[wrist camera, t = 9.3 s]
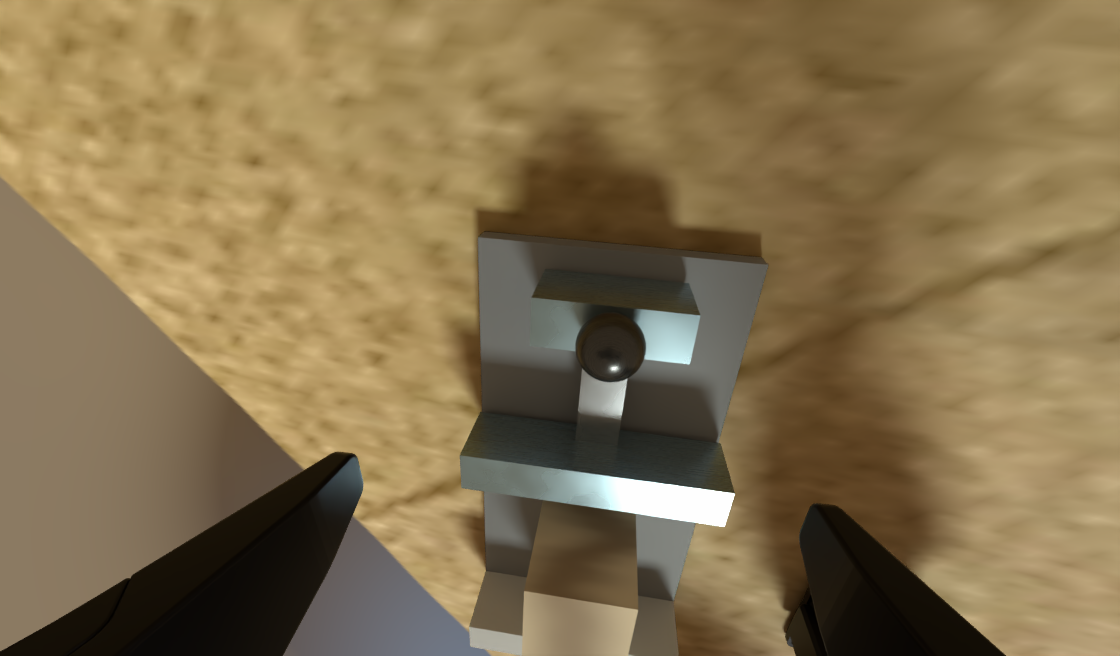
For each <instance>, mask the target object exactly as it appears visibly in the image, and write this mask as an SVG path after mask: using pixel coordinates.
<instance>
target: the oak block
mask: <svg viewBox="0 0 1120 656" xmlns="http://www.w3.org/2000/svg"><path fill="white" fill-rule="evenodd" d="M637 613H638V579H637V542H636V514H635V513H629V512H622V511H615V510H608V509H601V508H594V507H588V506H581V505H574V504H567V503H560V502H554V501H547V500H543V502H542V507H541V512H540V517H539V521H538V526H537V531H536V536H535V541H534V546H533V550H532V555H531V560H530V565H529V570H528V574H527V579H526V584H525V589H524V607H523V636H522V656H628V653H629V649H630V645H631V640H632V636H633V631H634V627H635V622H636V618H637Z"/></svg>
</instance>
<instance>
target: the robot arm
mask: <svg viewBox="0 0 1120 656" xmlns="http://www.w3.org/2000/svg"><path fill="white" fill-rule="evenodd" d="M362 490H363V479H362V474H361V470H360V466H359V462H358V458H357V456H356V455H355V454H353V453H346V452H334V453H332V454H330V455H328V456H327V457H325V458H323V459H322V460H320V461H318V462H317V463H315V464H314V465H312V466H310V467H309V468H307V469H305V470H304V471H302V472H300V473H299V474H297V475H295V476H294V477H292V478H291V479H289V480H287V481H286V482H284V483H282V484H281V485H279V486H277V487H276V488H274V489H273V490H271V491H269V492H268V493H266V494H264V495H263V496H261V497H259V498H258V499H256V500H254V501H253V502H252V503H249V504H248V505H246V506H245V507H243V508H241V509H240V510H238V511H236V512H235V513H233V514H231V515H230V516H228V517H227V518H225V519H223V520H222V521H220V522H218V523H217V524H215V525H214V526H212V527H210V528H208V529H207V530H205V531H204V532H202V533H200V534H199V535H197V536H195V537H194V538H192V539H190V540H189V541H187V542H185V543H184V544H182V545H181V546H179V547H177V548H176V549H174V550H173V551H171V552H169V553H168V554H166V555H164V556H163V557H161V558H159V559H158V560H156V561H154V562H153V563H151V564H149V565H148V566H146V567H144V568H143V569H141V570H139V571H138V572H136V573H135V574H133V575H132V576H131V578H126V579H124V580H123V581H121V582H120V583H118V584H116V585H115V586H113V587H111V588H110V589H108V590H106V591H105V592H103V593H101V594H100V595H98V596H97V597H95V598H93V599H91V600H90V601H88V602H87V603H85V604H83V605H81V606H80V607H78V608H76V609H74V610H73V611H71V612H70V613H68V614H66V615H64V616H63V617H61V618H59V619H58V620H56V621H54V622H52V623H51V624H49V625H47V626H45V627H43V628H42V629H40V630H38V631H36V632H34V633H33V634H31V635H29V636H27V637H26V638H24V639H22V640H20V641H18V642H17V643H15V644H13V645H11V646H9V647H8V648H6V649H4V650H2V651H0V656H283V654H284V653H285V651H286V649H287V647H288V645H289V643H290V641H291V639H292V638H293V636H294V634H295V632H296V630H297V628H298V626H299V625H300V623H301V621H302V619H303V617H304V616H305V614H306V612H307V610H308V608H309V606H310V604H311V602H312V601H313V599H314V597H315V595H316V593H317V591H318V590H319V588H320V586H321V584H322V582H323V580H324V578H325V577H326V574H327V573H328V571H329V569H330V567H331V564H332V562H333V560H334V558H335V556H336V553H337V551H338V549H339V546H340V544H341V542H342V539H343V537H344V534H345V532H346V530H347V527H348V525H349V523H350V520H351V518H352V515H353V513H354V511H355V508H356V506H357V504H358V501H359V499H360V496H361V494H362ZM799 541H800V547H801V552H802V556H803V561H804V565H805V569H806V574H807V578H808V582H809V588H808V590H807V592H806V594H805V596H804V598H803V600H802V602H801V604H800V606H799V607H798V609H797V611H796V613H795V616H794V618H793V620H792V622H791V624H790V626H789V628H788V631H787V633H786V635H785V638H786V641H787V644H788V645H789V646H791V647H793V648H794V651H795V654H796V656H1006V655H1005V654H1004V653H1003V652H1001V651H1000V650H999V649H998V648H997V647H996V646H995V645H994V644H992V643H991V642H990V641H989V640H988V639H987V638H986V637H985V636H983V635H982V634H981V633H980V632H979V631H978V630H977V629H976V628H974V627H973V626H972V625H971V624H970V623H969V622H968V621H967V620H965V619H964V618H963V617H962V616H961V615H960V614H959V613H958V612H957V611H955V610H954V609H953V608H952V607H951V606H950V605H949V604H948V603H946V602H945V601H944V600H943V599H942V598H941V597H940V596H939V595H937V594H936V593H935V592H934V591H933V590H932V589H931V588H930V587H928V586H927V585H926V584H925V583H924V582H923V581H922V580H921V579H919V578H918V577H917V576H916V575H915V574H914V573H913V572H912V571H910V570H909V569H908V568H907V567H906V566H905V565H904V564H903V563H901V562H900V561H899V560H898V559H897V558H896V557H895V556H894V555H892V554H891V553H890V552H889V551H888V550H887V549H886V548H885V547H883V546H882V545H881V544H880V543H879V542H878V541H877V540H876V539H874V538H873V537H872V536H871V535H870V534H869V533H868V532H867V531H865V530H864V529H863V528H862V527H861V526H860V525H859V524H858V523H856V522H855V521H854V520H853V519H852V518H851V517H850V516H849V515H847V514H846V513H845V512H844V511H843V510H842V509H841V508H839V507H837V506H835V505H829V504H820V503H815V504H813V505H812V506H811V507H810V509H809V511H808V513H807V516H806V518H805V521H804V523H803V525H802V528H801V530H800V535H799Z"/></svg>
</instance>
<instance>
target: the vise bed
mask: <svg viewBox="0 0 1120 656" xmlns="http://www.w3.org/2000/svg"><path fill="white" fill-rule="evenodd" d="M478 263H479V304H480V345H481V387H482V412H485V413H493V414H500V415H508V416H516V417H523V418H531V419H539V420H546V421H554V422H562V423H569V424H577V417H578V407H579V396H580V386H581V376H582V367H581V366H580V364H579V362H578V360H577V356H576V351H569V350H560V349H552V348H543V347H534V346H530V320H531V297H532V295H533V293H534V291H535V289H536V287H537V285H538V283H539V281H540V279H541V277H542V274H543V272H544V270H545V269H552V270H562V271H572V272H582V273H592V274H602V275H612V276H622V277H632V278H642V279H652V280H662V281H672V282H682V283H689V285H690V287H691V290H692V293H693V296H694V298H695V301H696V304H697V307H698V310H699V312H700V315H701V316H700V321H699V325H698V330H697V334H696V339H695V343H694V348H693V352H692V357H691V361H690V364H681V363H672V362H664V361H655V360H647V359H644V361H643V363H642V365H641V367H640V368H639V369H638V371H637V372H636V373H635V374H634V375H632V376H631V377H629V378H628V379H627V385H626V392H625V398H624V405H623V412H622V418H621V425H620V430H623V431H631V432H638V433H646V434H654V435H661V436H669V437H677V438H684V439H692V440H699V441H707V442H715V443H718V442H719V439H720V435H721V432H722V428H723V424H724V421H725V417H726V414H727V410H728V407H729V403H730V400H731V396H732V393H733V389H734V385H735V382H736V378H737V375H738V371H739V368H740V364H741V361H742V357H743V354H744V350H745V346H746V343H747V339H748V336H749V332H750V329H751V325H752V322H753V318H754V315H755V311H756V307H757V304H758V300H759V297H760V293H761V290H762V286H763V283H764V279H765V276H766V272H767V269H768V264H767V263H766V262H765V260H764V259H763V258H762V257H752V256H742V255H731V254H720V253H710V252H699V251H688V250H678V249H667V248H656V247H646V246H635V245H624V244H614V243H603V242H592V241H582V240H571V239H560V238H550V237H539V236H528V235H518V234H507V233H496V232H486V231H484V232H483V233H482V234H481V235H480V236H479V237H478ZM542 502H543V500H540V499H533V498H526V497H519V496H513V495H506V494H499V493H492V492H485V491H484V511H485V552H486V572H485V576H484V579H483V582H482V586H481V589H480V592H479V596H478V599H477V603H476V606H475V609H474V613H473V616H472V619H471V623H470V626H469V631H470V646H471V647H476V648H482V649H487V650H493V651H498V652H504V653H510V654H515V655H521V656H522V636H523V607H524V589H525V584H526V579H527V574H528V570H529V565H530V560H531V555H532V550H533V546H534V541H535V536H536V531H537V526H538V521H539V517H540V512H541V507H542ZM695 524H696V522H690V521H683V520H676V519H669V518H663V517H656V516H649V515H642V514H636V542H637V579H638V613H637V618H636V622H635V627H634V631H633V636H632V640H631V645H630V649H629V653H628V656H679V652H678V641H677V631H676V621H675V611H674V598H675V595H676V591H677V587H678V584H679V580H680V577H681V573H682V570H683V566H684V563H685V559H686V556H687V552H688V548H689V545H690V541H691V538H692V534H693V531H694V527H695Z"/></svg>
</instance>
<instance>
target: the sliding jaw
mask: <svg viewBox="0 0 1120 656" xmlns="http://www.w3.org/2000/svg"><path fill="white" fill-rule="evenodd" d="M700 316H701V315H700V312H699V310H698V307H697V304H696V301H695V298H694V296H693V293H692V290H691V287H690V285H689V283H682V282H672V281H662V280H652V279H642V278H632V277H622V276H612V275H602V274H592V273H582V272H572V271H562V270H552V269H545V270H544V272H543V274H542V277H541V279H540V281H539V283H538V285H537V287H536V289H535V291H534V293H533V295H532V297H531V320H530V346H534V347H543V348H552V349H560V350H569V351H576V356H577V360H578V362H579V364H580V366H581V367H582V376H581V386H580V396H579V407H578V417H577V424H569V423H562V422H554V421H546V420H539V419H531V418H523V417H516V416H508V415H500V414H493V413H485V412H480V414H479V416H478V418H477V420H476V422H475V424H474V426H473V429H472V431H471V433H470V435H469V437H468V439H467V441H466V443H465V445H464V448H463V450H462V452H461V454H460V468H461V486H462V488H465V489H472V490H479V491H485V492H492V493H499V494H506V495H513V496H519V497H526V498H533V499H540V500H547V501H554V502H560V503H567V504H574V505H581V506H588V507H594V508H601V509H608V510H615V511H622V512H629V513H635V514H642V515H649V516H656V517H663V518H669V519H676V520H683V521H690V522H697V523H704V524H710V525H717V526H725V523H726V520H727V516H728V513H729V510H730V507H731V504H732V501H733V498H734V495H735V493H734V489H733V486H732V482H731V479H730V475H729V471H728V468H727V464H726V461H725V457H724V454H723V450H722V447H721V443H715V442H707V441H699V440H692V439H684V438H677V437H669V436H661V435H654V434H646V433H638V432H631V431H623V430H620V425H621V418H622V412H623V405H624V398H625V392H626V385H627V379H628V378H629V377H631V376H632V375H634V374H635V373H636V372H637V371H638V369H639V368H640V367H641V365H642V363H643V361H644V359H647V360H655V361H664V362H672V363H681V364H690V361H691V357H692V352H693V348H694V343H695V339H696V334H697V330H698V325H699V321H700Z"/></svg>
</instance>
